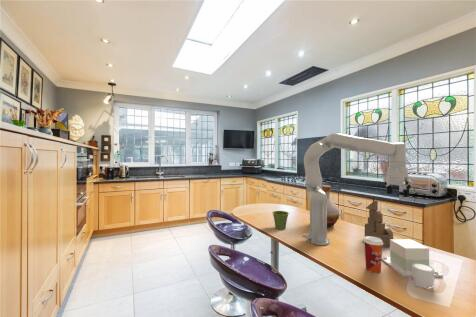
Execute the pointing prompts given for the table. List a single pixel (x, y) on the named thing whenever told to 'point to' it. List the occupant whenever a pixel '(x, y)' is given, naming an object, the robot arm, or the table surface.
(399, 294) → the table surface
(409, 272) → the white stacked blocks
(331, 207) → the jug
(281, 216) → the plant pot
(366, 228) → the wooden toy
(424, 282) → the white cylinder
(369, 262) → the paper cup
